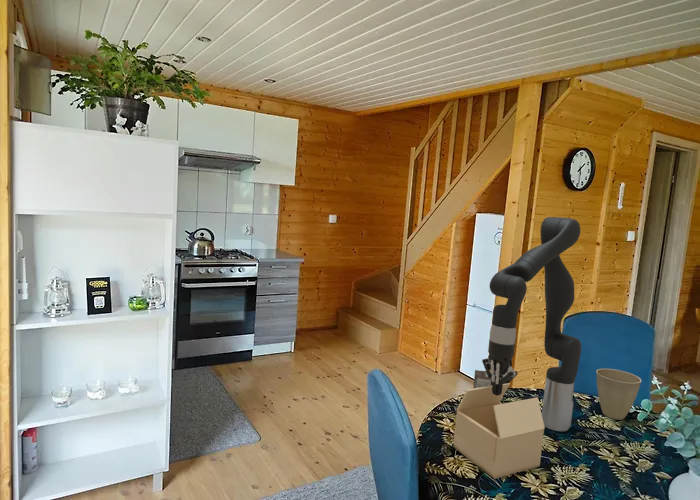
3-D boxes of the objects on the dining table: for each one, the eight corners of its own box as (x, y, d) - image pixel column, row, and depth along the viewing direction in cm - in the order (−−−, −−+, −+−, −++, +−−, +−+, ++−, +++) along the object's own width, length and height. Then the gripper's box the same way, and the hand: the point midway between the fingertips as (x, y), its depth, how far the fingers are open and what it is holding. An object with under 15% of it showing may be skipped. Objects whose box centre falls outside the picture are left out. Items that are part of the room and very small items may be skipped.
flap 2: (536, 397, 140) (537, 397, 140) (543, 428, 138) (544, 428, 137) (493, 405, 132) (494, 405, 132) (499, 438, 130) (501, 438, 129)
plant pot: (635, 414, 181) (641, 374, 179) (635, 428, 168) (641, 386, 166) (593, 403, 188) (598, 365, 187) (589, 416, 176) (594, 375, 174)
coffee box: (490, 424, 164) (495, 380, 162) (471, 421, 165) (476, 378, 163) (488, 413, 173) (492, 371, 171) (470, 410, 174) (474, 369, 172)
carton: (497, 436, 155) (500, 402, 154) (540, 465, 139) (545, 427, 138) (452, 447, 147) (455, 410, 145) (493, 479, 131) (497, 439, 129)
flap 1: (499, 402, 154) (498, 401, 154) (510, 384, 149) (509, 382, 150) (457, 410, 146) (456, 409, 146) (468, 390, 142) (467, 389, 142)
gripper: (528, 345, 137) (521, 401, 139) (495, 332, 149) (490, 384, 150) (509, 347, 133) (503, 405, 135) (477, 334, 145) (472, 387, 147)
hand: (496, 394), depth 143 cm, fingers closed
